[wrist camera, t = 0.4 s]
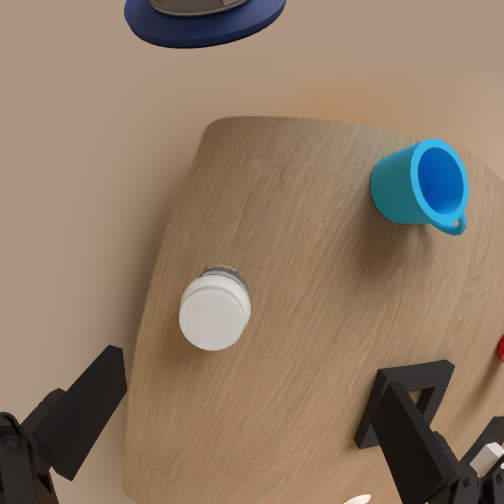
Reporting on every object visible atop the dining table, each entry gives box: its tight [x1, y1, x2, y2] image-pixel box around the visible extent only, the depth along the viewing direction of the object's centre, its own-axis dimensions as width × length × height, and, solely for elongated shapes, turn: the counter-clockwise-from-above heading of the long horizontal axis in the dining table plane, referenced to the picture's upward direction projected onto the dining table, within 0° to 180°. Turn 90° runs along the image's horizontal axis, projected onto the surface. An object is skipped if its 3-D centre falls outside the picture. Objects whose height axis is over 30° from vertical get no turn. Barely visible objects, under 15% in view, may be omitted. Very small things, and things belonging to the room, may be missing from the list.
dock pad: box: [354, 360, 455, 449], centre depth 30 cm, size 13×13×2 cm
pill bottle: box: [179, 264, 251, 351], centre depth 23 cm, size 6×6×10 cm
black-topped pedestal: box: [459, 416, 504, 477], centre depth 30 cm, size 28×26×13 cm
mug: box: [370, 138, 469, 236], centre depth 24 cm, size 12×8×8 cm
